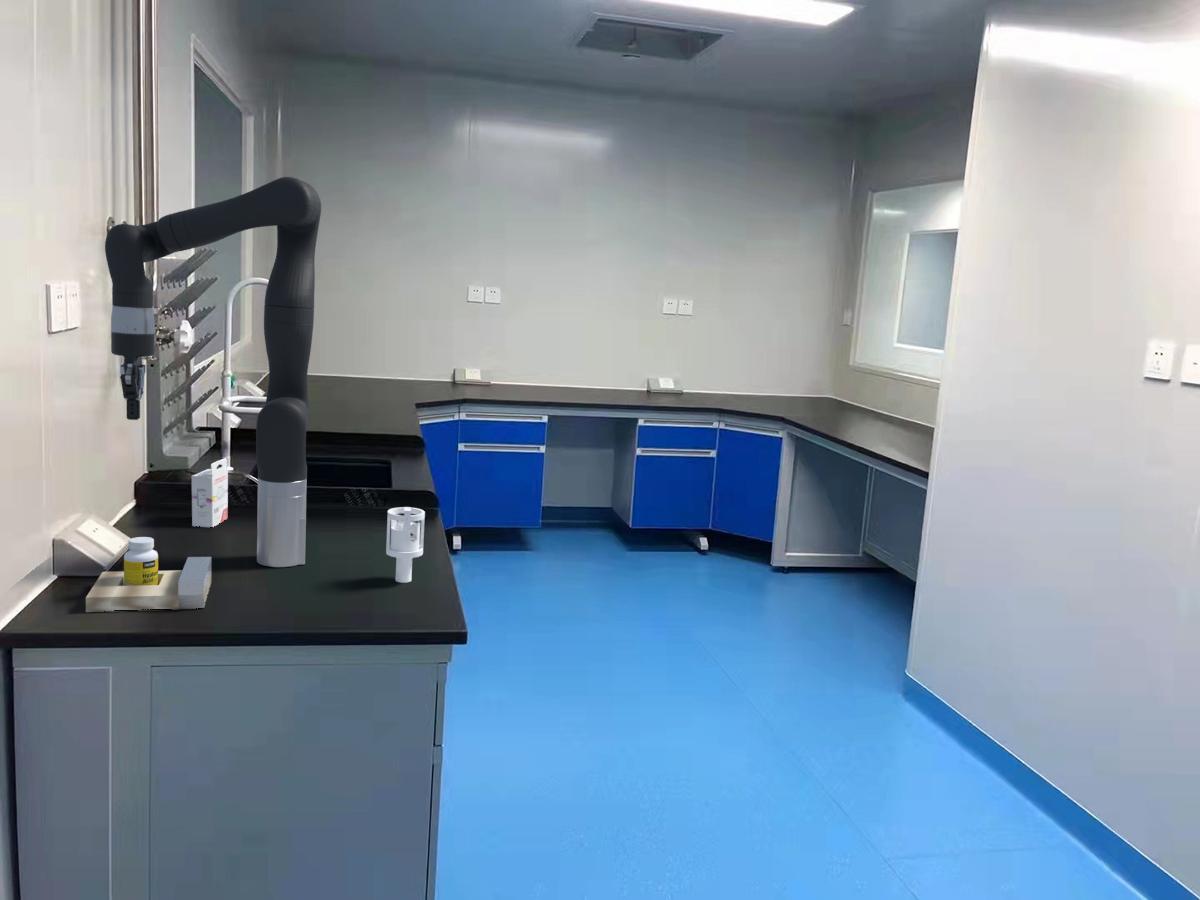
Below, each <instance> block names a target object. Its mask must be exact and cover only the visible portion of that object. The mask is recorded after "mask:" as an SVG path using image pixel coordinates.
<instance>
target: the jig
mask: <svg viewBox="0 0 1200 900" xmlns="http://www.w3.org/2000/svg"><path fill="white" fill-rule="evenodd" d="M211 584H212V556H188V557H187V559H186V561H185V563H184V565H183V569H182V570H179V569H178V570H176V569H175V570H158V585H138V586H124V570H121V571H102V572H101V573H100V576H99V577H97V580H96V581H95V582H94V585H93V586H92V587H91V589H90V591H89V592H88V594H87V595H86V597H85V613H96V612H97V613H100V612H102V613H103V612H104V611H105V612H115V611H114V610H138V611H151V610H150V609H172V610H193V609H194V610H196V608H197V609H198V608H204V609H205V605H206V603H205V602H207V598H208V596H207V595H209V592H210V589H209V588H211ZM142 609H144V610H142ZM145 609H146V610H145ZM147 609H149V610H147ZM105 612H104V613H105Z"/></svg>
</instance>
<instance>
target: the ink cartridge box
mask: <svg viewBox="0 0 1200 900" xmlns="http://www.w3.org/2000/svg"><path fill="white" fill-rule="evenodd" d="M219 465H220V466H221V467H219ZM217 467H219V468H217ZM228 472H229V470H228V459H227V457H224V458H222V459H218V460H217V461H215V462H213V463H212V462H211V464H210V468H207V469H205V470H202V471H200V472H198V473H196V474H193V475H191V517H192V519H191V521H192V522H191V526H192V527H196V526H197V527H198V528H199V526H200V528H210V527H213V528H215V527H216V526H218V525H220V524H221V523H223V522H224V520H225V521H226V520H228V517H229V516H228V513H229V512H228V508H229V506H228V503H229V498H228V497H229V492H228V491H229V489H228V488H229V483H228V482H229V481H228V480H229V473H228ZM219 523H220V524H219ZM214 526H215V527H214ZM197 527H196V528H197Z"/></svg>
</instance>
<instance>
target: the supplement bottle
mask: <svg viewBox="0 0 1200 900" xmlns="http://www.w3.org/2000/svg"><path fill="white" fill-rule="evenodd" d="M154 543H155V540H154V538H152V537H150V536H149V537H148V536H138V537H132V538H129V539H128V549H129V550H128V551H126V552H125V553H124V556H123V571H124V586H138V585H158V571H159V554H158V551H157V550H154V547H155V544H154Z"/></svg>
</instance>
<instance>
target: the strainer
mask: <svg viewBox="0 0 1200 900" xmlns="http://www.w3.org/2000/svg"><path fill="white" fill-rule="evenodd" d="M402 514H403V515H402ZM425 517H426V511H424V510H423V509H421V508H417V507H410V506H403V507H401V506H400V507H393V508H389V509H388V510H387V518H386V519H387V520H386V523H387V524H386V544H385V545H386V547H385V548H386V549H385V552H386V553H385V554H386V555H387V556H389V557H393V558H395V559H396V561H395V562H396V563H395V566H396V567H395V582H398V583H402V584H403V583H405V584H406V583H409V582H410V583H411V582H412V571H413V559H414V558H419V557H421V556H423V554H424V539H425V538H424V537H425ZM411 534H412V535H411Z"/></svg>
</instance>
